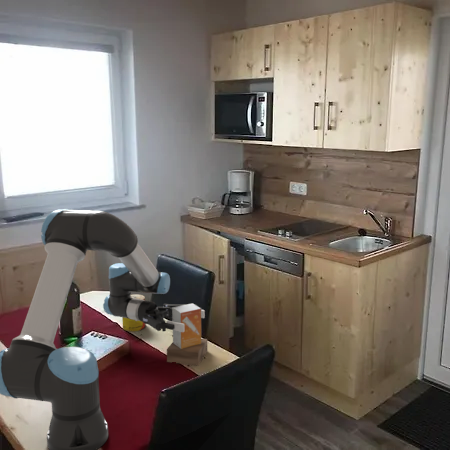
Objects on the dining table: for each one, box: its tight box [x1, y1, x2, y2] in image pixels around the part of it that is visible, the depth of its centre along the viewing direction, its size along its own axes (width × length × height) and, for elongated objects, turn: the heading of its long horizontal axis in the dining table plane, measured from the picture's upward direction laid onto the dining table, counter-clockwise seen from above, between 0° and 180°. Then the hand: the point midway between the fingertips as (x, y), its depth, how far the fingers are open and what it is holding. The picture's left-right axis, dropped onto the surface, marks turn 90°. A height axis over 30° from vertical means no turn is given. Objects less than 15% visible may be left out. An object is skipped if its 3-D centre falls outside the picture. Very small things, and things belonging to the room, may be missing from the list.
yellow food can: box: [121, 293, 147, 332], centre depth 203 cm, size 9×9×12 cm
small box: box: [171, 303, 202, 349], centre depth 177 cm, size 8×6×13 cm
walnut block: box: [166, 338, 208, 367], centre depth 178 cm, size 11×11×5 cm
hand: (194, 320), depth 175 cm, fingers open, 13 cm apart
